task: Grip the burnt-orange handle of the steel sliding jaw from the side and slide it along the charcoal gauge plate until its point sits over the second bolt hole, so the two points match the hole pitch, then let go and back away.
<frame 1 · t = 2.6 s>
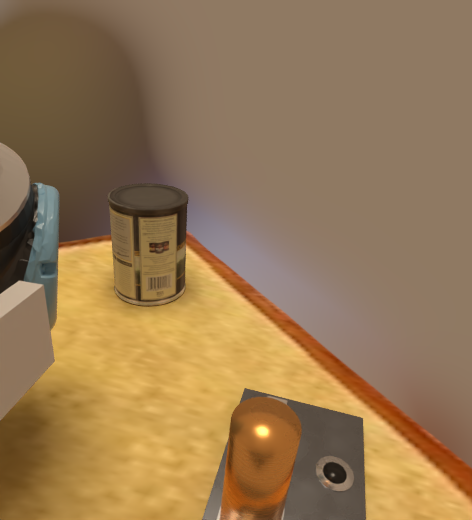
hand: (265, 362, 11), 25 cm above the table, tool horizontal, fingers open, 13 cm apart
coffee can: (149, 287, 60), on the table
sliding jaw: (287, 502, 26), point 8 cm above the table, slide at 0.0 cm
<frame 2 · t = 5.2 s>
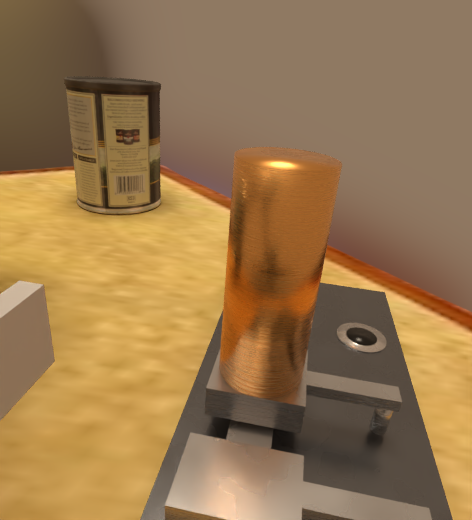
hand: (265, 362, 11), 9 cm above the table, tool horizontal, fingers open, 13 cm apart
gauge plate: (303, 392, 24), on the table
coffee can: (119, 202, 52), on the table
sliding jaw: (318, 307, 18), point 8 cm above the table, slide at 0.0 cm
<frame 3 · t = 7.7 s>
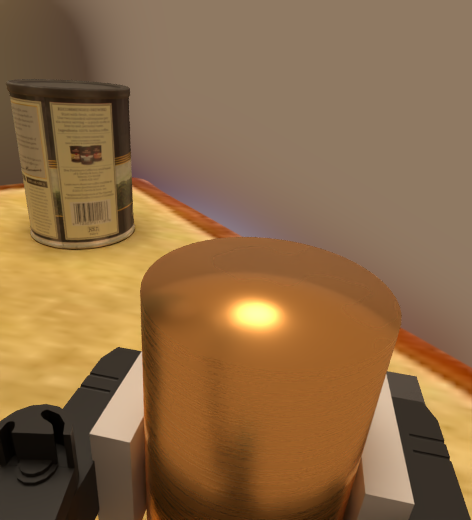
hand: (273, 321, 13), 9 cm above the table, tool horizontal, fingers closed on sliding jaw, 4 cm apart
coffee can: (84, 231, 43), on the table
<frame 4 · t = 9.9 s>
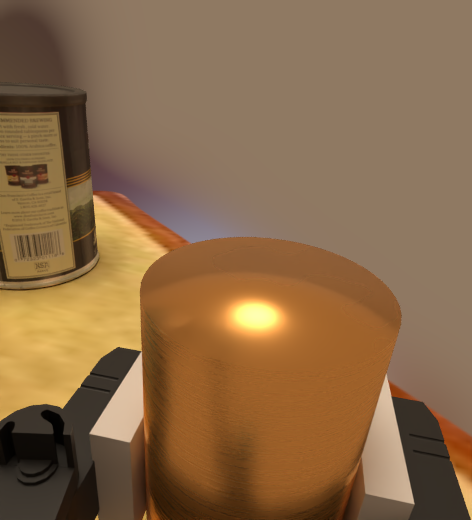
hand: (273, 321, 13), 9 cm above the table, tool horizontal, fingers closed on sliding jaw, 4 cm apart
coffee can: (37, 263, 36), on the table
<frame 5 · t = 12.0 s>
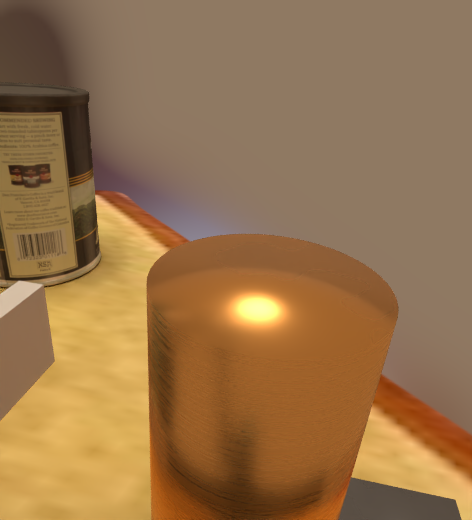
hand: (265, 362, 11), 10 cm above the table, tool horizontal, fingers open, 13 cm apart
coffee can: (39, 262, 36), on the table
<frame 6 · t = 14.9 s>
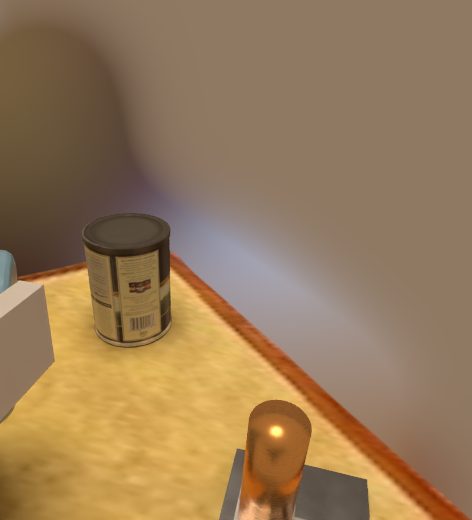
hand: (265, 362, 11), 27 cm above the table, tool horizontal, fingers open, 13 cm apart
coffee can: (133, 323, 56), on the table
sliding jaw: (300, 491, 29), point 8 cm above the table, slide at 8.0 cm
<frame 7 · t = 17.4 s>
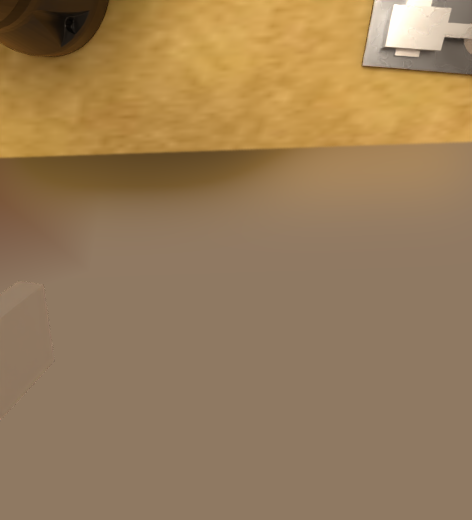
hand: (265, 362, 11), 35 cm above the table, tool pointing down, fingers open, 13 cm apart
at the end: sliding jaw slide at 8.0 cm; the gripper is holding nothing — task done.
